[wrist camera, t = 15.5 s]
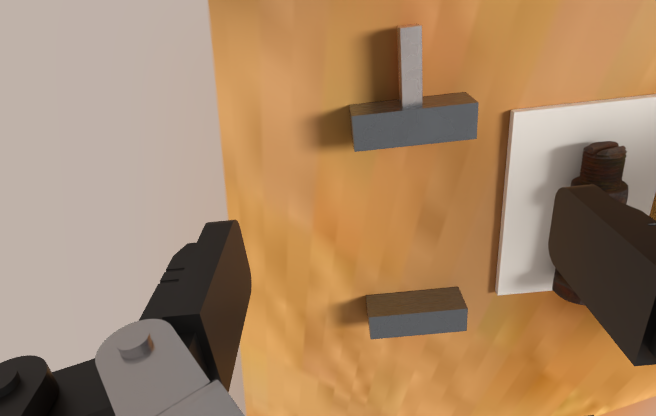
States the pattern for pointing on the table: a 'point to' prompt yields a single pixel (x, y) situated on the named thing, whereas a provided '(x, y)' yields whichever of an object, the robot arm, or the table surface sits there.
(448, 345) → the table surface
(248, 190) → the table surface
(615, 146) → the bolt
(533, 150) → the board
